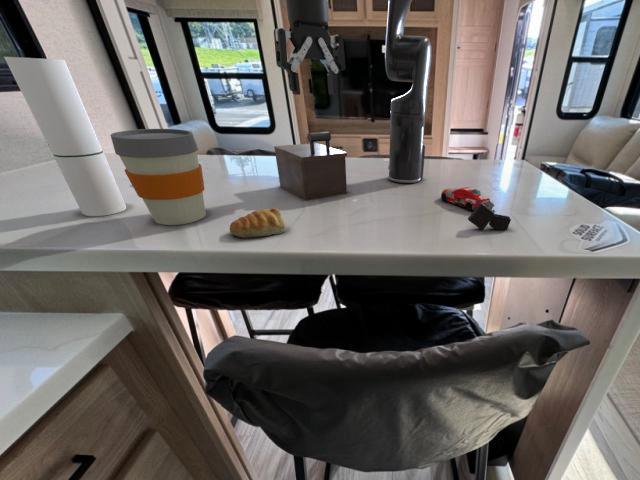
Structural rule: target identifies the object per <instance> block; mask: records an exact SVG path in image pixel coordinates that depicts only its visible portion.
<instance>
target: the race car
mask: <svg viewBox="0 0 640 480" xmlns="http://www.w3.org/2000/svg"><path fill="white" fill-rule="evenodd" d="M440 198H441V200H442V202H444V203H445V202H449V203H452V204H455V205H457V206H459V207H463V208H465V209H466V210H467V211H469V212H470V211H475V209H476V208H477V207H478V205H479V204H480V203H482V204H484V205H485V203H486V202H487V201H489V202H491V199H490V197H489V196H488V195H486V194H485V193H483V191H480V190H479V189H477V188H474V187H471V186H465V187H461V188H455V187H453V188H452V187H451V188H445V189H443V190H442V191H441V195H440ZM485 206H486V205H485Z"/></svg>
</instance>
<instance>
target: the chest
mask: <svg viewBox="0 0 640 480" xmlns="http://www.w3.org/2000/svg"><path fill="white" fill-rule="evenodd" d="M274 154H275V161H276V168H277V175H278V182H279V187H280V188H282V189H284V190H286V191H288V192H289V193H291V194H293V195H295V196H297V197H299V198H301V199H302V200H304V201H309V200H313V199H319V198H324V197H325V198H326V197H330V196H336V195H342V194H346V193H348V192H347V191H348V189H347V188H348V187H347V185H348V184H347V165H346V163H347V162H346V156H344V157H336V158H327V159H318V160H309V161H301V160H298V159H296V158H293V157H291V156H289V155H286V154H284V153H281V152H279V151H276V150H275V149H274Z"/></svg>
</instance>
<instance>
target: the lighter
mask: <svg viewBox="0 0 640 480" xmlns="http://www.w3.org/2000/svg"><path fill="white" fill-rule="evenodd" d="M485 205H486V206H485ZM485 205H484V204H482V203H480V204H479V205H478V207H477V208H476V209H475V210H473V212H471V214H470V215H469V216H468V217H467V220H468V221H469V223H471V224H473V226H476V227H477V228H478V229H480V230H481V231H484V229H485V228H486V227H487V226H488V225H489V227H490V228H491V229H494V230H496V231H507V230H508V229H509V226H510V224H511V221H512V219H511V217H510V216H508V215H503V214H498V213H496V210H495V209H493V208H494V207H495V204H494V203H493V202H492V201H490V202H489V201H487V202H486V203H485Z"/></svg>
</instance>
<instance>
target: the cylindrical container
mask: <svg viewBox="0 0 640 480" xmlns="http://www.w3.org/2000/svg"><path fill="white" fill-rule="evenodd" d="M3 58H4V60H5V62H6V64H7V66H8V68H9V70H10V72H11V74H12V76H13V78H14V80H15V82H16V84H17V86H18V88H19V90H20V92H21V94H22V96H23V98H24V100H25V102H26V104H27V107H28V108H29V110H30V112H31V114H32V116H33V118H34V120H35V122H36V124H37V126H38V128H39V130H40V132H41V134H42V136H43V138H44V140H45V142H46V144H47V146H48V148H49V150H50V152H51V155H52V156H53V158H54V160H55V163H56V164H57V166H58V168H59V170H60V172H61V174H62V176H63V178H64V180H65V182H66V183H67V186H68V188H69V190H70V193H71V194H72V196H73V197H74V198H73V199H74V200H75V202H76V204H77V206H78V208H79V210H80V212H81V214H82V215H83V216H87V217H103V216H110V215H114V214H115V215H116V214H118V213H121V212H123V211H125V210H127V205H126V203H125V200H124V198H123V196H122V193H121V191H120V189H119V186H118V183H117V181H116V179H115V177H114V174H113V172H112V170H111V166H110V164H109V162H108V160H107V158H106V155H105V153H104V150H103V148H102V145H101V143H100V140H99V139H98V136H97V134H96V131H95V129H94V127H93V125H92V122H91V120H90V119H91V118H90V117H89V115H88V112H87V110H86V108H85V105H84V102H83V99H81V95H80V93H79V90H78V88H77V86H76V83H75V80H74V79H73V76H72V74H71V71H70V70H69V67H68V64H67V62H66V60H65V59H57V58H56V59H55V58H36V57H15V56H4V57H3Z"/></svg>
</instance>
